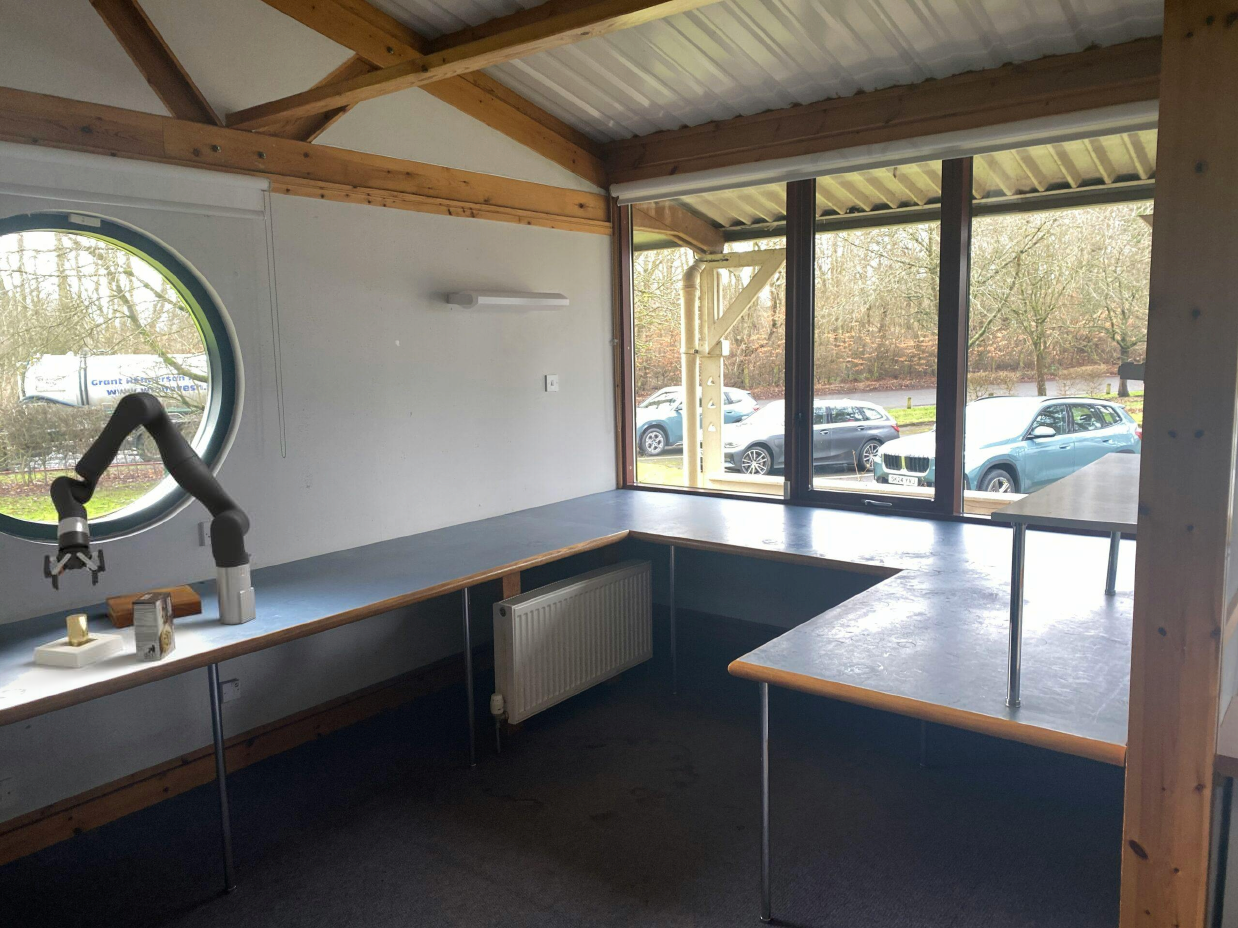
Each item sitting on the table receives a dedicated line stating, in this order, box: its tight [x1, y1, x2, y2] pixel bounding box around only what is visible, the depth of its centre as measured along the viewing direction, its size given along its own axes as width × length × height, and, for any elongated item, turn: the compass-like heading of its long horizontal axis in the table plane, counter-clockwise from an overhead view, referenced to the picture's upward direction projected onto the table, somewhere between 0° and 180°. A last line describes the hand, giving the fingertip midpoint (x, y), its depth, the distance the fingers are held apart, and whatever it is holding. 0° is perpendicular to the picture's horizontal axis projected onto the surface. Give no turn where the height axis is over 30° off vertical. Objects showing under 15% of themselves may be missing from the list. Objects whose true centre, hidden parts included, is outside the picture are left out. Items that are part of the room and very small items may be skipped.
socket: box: [33, 631, 124, 669], centre depth 229 cm, size 14×14×4 cm
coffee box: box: [132, 592, 176, 662], centre depth 229 cm, size 9×6×16 cm
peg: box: [66, 613, 89, 647], centre depth 229 cm, size 4×4×11 cm
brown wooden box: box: [105, 584, 203, 629], centre depth 266 cm, size 23×19×6 cm
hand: (75, 586), depth 234 cm, fingers open, 8 cm apart
